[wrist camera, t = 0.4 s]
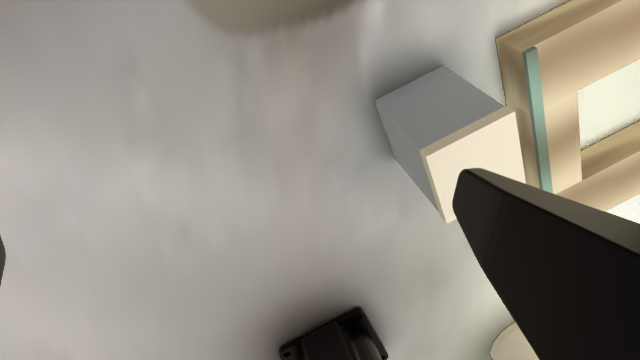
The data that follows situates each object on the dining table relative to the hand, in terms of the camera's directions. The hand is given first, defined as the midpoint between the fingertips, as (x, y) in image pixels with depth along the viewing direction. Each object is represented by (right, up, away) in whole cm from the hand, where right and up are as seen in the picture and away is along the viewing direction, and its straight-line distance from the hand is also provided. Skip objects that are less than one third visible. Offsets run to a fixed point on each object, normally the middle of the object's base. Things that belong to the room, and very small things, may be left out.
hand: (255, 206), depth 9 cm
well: (+18, +5, +19) cm, 27 cm away
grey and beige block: (+7, +4, +16) cm, 18 cm away
